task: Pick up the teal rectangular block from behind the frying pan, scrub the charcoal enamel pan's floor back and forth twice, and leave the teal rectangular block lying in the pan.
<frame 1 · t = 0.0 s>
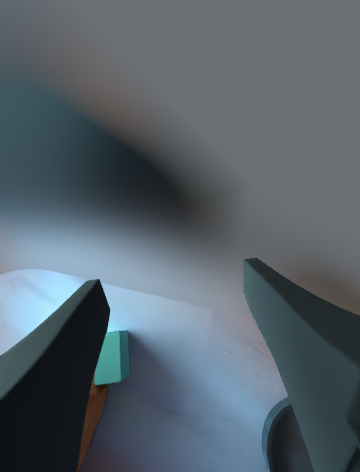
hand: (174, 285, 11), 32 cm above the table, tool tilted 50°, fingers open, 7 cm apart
pan: (307, 449, 34), on the table
bread: (36, 443, 36), on the table
teal rectangular block: (117, 353, 40), on the table
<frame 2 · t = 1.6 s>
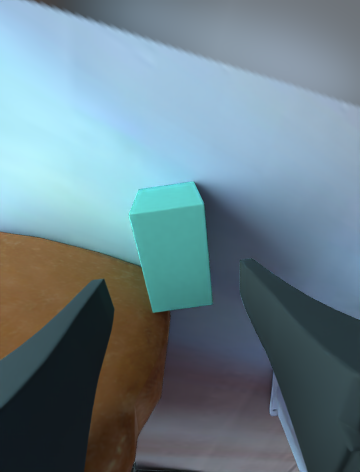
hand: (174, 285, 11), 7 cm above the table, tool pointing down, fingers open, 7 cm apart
bread: (59, 344, 23), on the table, touching gripper
teal rectangular block: (173, 229, 18), on the table
knife: (145, 467, 36), on the table
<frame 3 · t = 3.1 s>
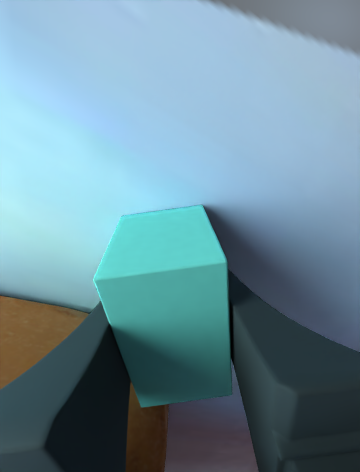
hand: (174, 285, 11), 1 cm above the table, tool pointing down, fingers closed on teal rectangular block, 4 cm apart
bread: (28, 408, 18), on the table
teal rectangular block: (171, 268, 13), on the table, touching gripper
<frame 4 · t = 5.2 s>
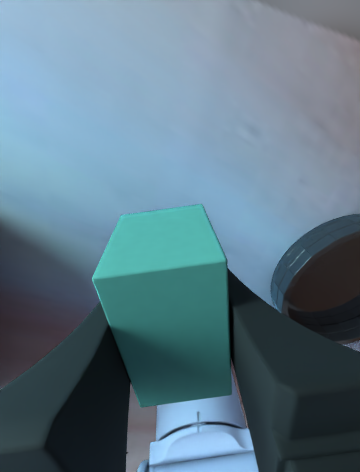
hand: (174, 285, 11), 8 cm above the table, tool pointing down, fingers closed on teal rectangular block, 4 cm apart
pan: (337, 276, 22), on the table
teal rectangular block: (171, 268, 13), point 6 cm above the table, touching gripper
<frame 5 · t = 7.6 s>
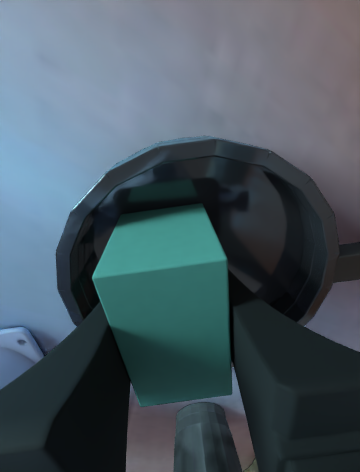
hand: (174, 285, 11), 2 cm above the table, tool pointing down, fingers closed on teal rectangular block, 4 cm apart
pan: (194, 260, 13), on the table
beverage cup: (200, 413, 21), on the table
teal rectangular block: (171, 267, 13), point 1 cm above the table, touching gripper
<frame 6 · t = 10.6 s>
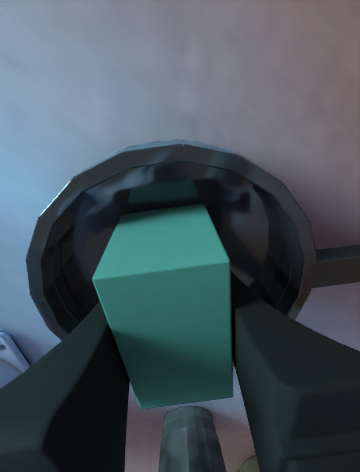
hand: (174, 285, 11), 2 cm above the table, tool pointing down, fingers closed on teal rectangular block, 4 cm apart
pan: (174, 264, 13), on the table
beverage cup: (187, 417, 21), on the table
teal rectangular block: (172, 268, 12), point 1 cm above the table, touching gripper
when the fingers open (2 cm above the table, at t = 12.6 s): teal rectangular block stays where it is, resting on pan.
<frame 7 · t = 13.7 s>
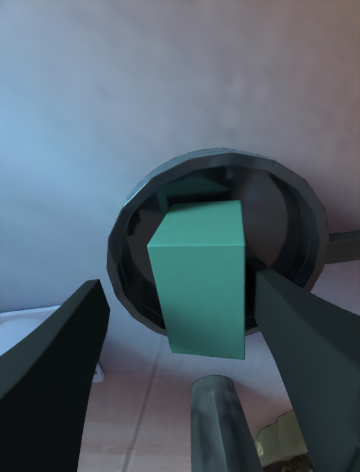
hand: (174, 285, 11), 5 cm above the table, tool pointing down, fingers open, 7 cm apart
pan: (211, 248, 16), on the table
beverage cup: (212, 386, 24), on the table
teal rectangular block: (209, 252, 15), point 1 cm above the table, tilted 14°, touching pan
food dish: (335, 453, 33), on the table
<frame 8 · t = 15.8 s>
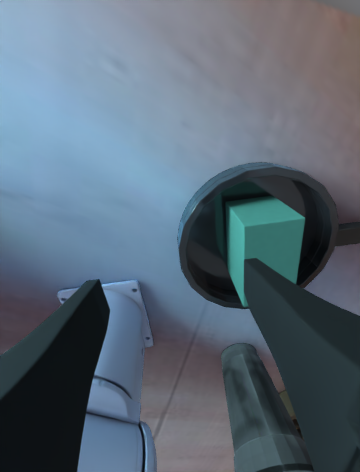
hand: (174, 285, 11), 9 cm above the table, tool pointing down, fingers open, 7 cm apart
pan: (248, 235, 21), on the table
beverage cup: (238, 353, 29), on the table
teal rectangular block: (248, 235, 21), resting on pan
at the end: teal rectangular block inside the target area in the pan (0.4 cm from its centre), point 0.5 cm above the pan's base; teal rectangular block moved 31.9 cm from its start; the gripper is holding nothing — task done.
